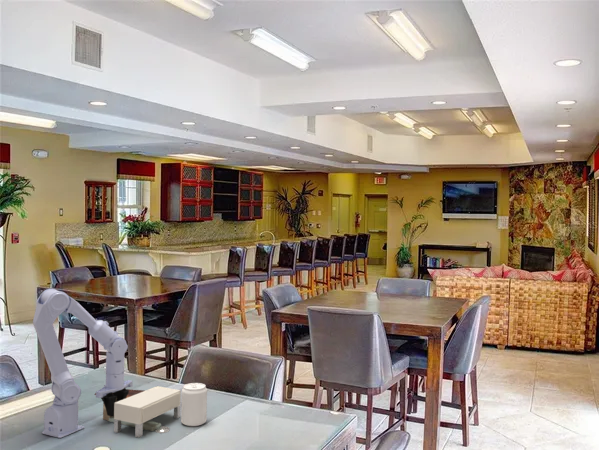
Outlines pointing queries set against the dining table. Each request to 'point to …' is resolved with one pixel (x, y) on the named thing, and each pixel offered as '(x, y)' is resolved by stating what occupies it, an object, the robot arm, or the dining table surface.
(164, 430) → the steel token
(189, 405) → the beverage can
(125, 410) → the cream toy bench
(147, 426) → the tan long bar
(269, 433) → the dining table surface
